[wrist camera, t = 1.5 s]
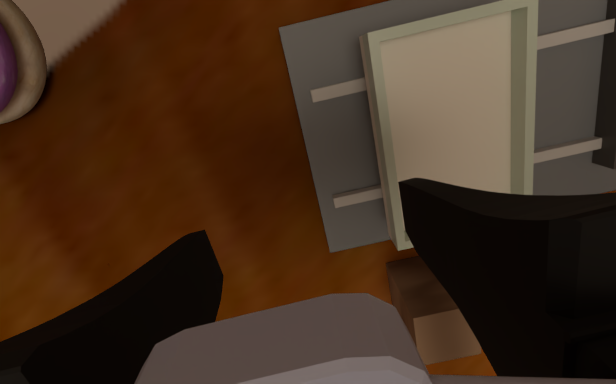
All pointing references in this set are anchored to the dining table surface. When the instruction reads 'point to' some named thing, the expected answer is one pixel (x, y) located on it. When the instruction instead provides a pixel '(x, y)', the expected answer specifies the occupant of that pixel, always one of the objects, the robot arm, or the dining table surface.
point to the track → (358, 125)
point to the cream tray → (454, 101)
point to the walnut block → (429, 312)
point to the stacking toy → (19, 63)
